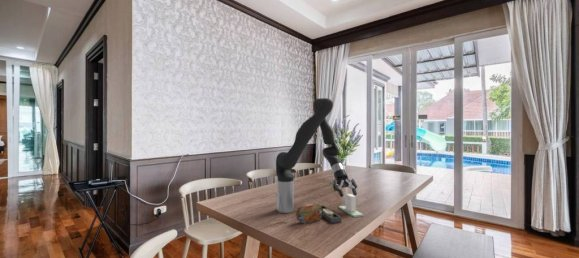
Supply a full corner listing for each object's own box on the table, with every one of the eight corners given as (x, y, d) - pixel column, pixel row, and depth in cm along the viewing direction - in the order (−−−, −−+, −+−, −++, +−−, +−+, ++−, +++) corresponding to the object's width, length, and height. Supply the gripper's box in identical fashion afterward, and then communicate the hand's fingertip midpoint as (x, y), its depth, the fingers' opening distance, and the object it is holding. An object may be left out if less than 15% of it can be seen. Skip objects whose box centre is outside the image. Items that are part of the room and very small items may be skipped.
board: (354, 217, 130) (354, 215, 130) (339, 207, 146) (339, 206, 146) (363, 216, 132) (363, 214, 132) (347, 207, 147) (347, 205, 147)
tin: (298, 225, 120) (298, 207, 120) (295, 222, 123) (295, 205, 123) (323, 219, 127) (323, 203, 127) (320, 217, 129) (320, 201, 129)
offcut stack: (328, 219, 127) (328, 214, 127) (320, 213, 137) (320, 208, 137) (333, 219, 128) (333, 213, 128) (326, 213, 138) (326, 207, 138)
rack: (331, 223, 122) (331, 218, 122) (315, 210, 141) (315, 206, 141) (341, 222, 124) (341, 217, 124) (323, 209, 142) (324, 205, 142)
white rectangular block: (351, 212, 135) (351, 196, 135) (345, 208, 141) (345, 193, 141) (355, 211, 136) (355, 196, 136) (350, 208, 142) (350, 193, 142)
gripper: (330, 169, 146) (340, 193, 135) (351, 168, 151) (362, 191, 140) (326, 176, 151) (335, 200, 140) (347, 175, 156) (357, 198, 145)
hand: (349, 195), depth 140 cm, fingers open, 8 cm apart
